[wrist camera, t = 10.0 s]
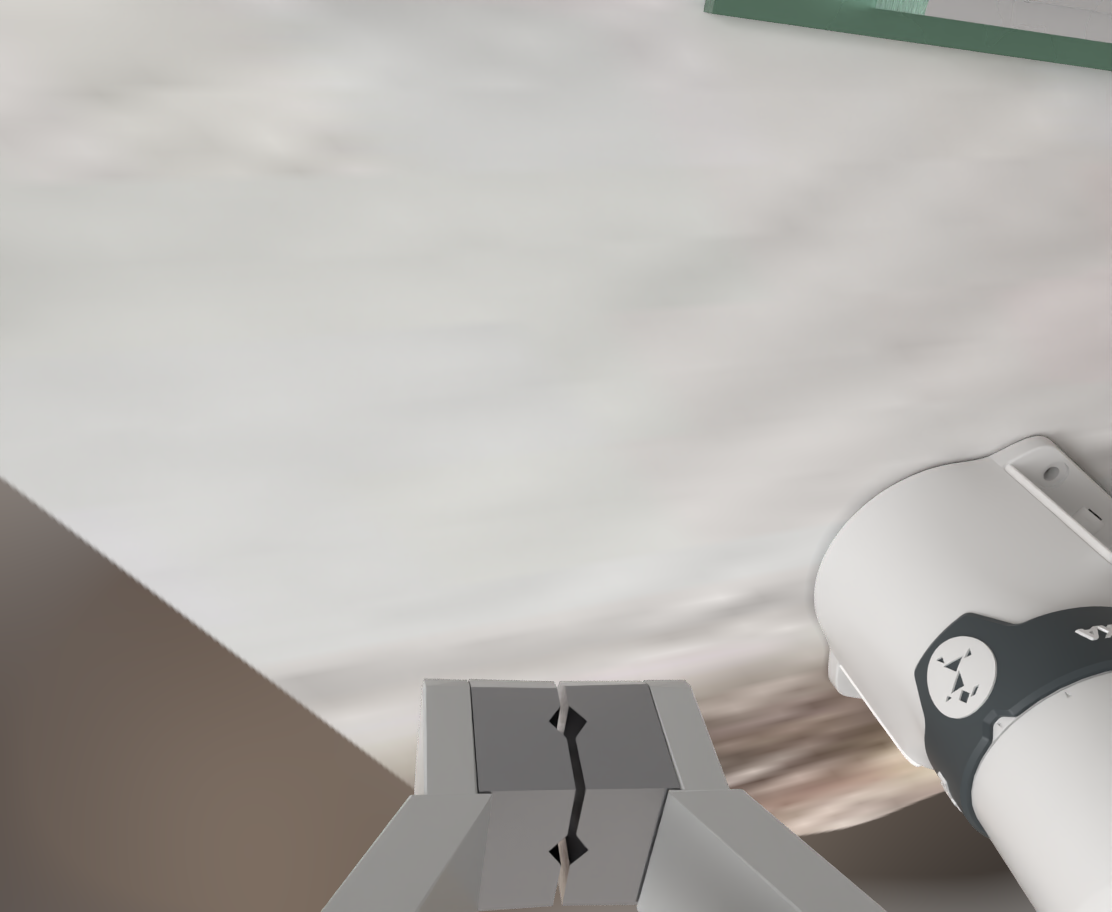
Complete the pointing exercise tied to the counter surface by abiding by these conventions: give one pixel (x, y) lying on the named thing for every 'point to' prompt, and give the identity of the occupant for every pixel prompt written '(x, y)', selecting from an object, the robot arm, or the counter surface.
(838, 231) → the counter surface
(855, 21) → the heatsink mount
